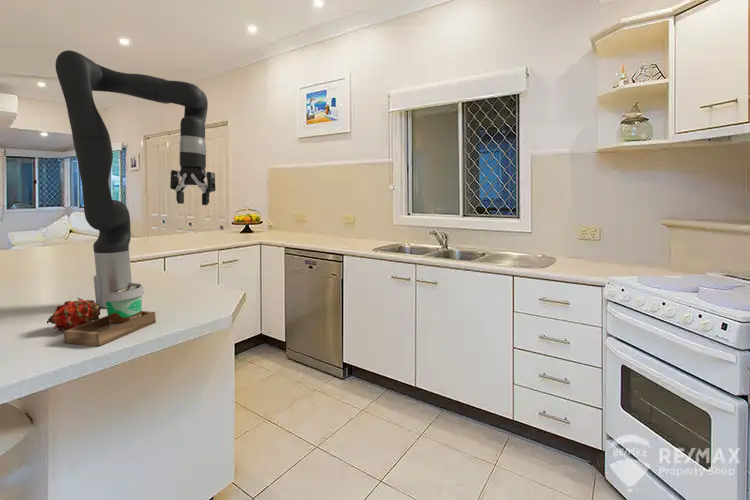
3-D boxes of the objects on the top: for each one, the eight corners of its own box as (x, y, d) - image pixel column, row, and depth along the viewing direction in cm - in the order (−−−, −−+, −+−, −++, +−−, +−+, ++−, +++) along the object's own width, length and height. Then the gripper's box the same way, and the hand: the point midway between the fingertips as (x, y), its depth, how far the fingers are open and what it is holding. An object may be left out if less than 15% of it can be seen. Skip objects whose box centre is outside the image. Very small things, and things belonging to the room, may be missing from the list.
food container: (133, 332, 99) (129, 293, 98) (106, 332, 98) (103, 293, 97) (154, 317, 111) (152, 282, 110) (131, 317, 111) (128, 282, 109)
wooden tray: (64, 343, 94) (63, 331, 93) (125, 320, 111) (124, 309, 110) (99, 346, 92) (98, 334, 91) (155, 322, 109) (155, 311, 109)
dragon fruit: (107, 328, 109) (54, 347, 100) (93, 306, 112) (41, 323, 103) (108, 308, 104) (53, 326, 95) (93, 286, 107) (38, 302, 98)
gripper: (164, 150, 121) (164, 203, 123) (206, 151, 119) (206, 205, 121) (180, 153, 129) (180, 203, 130) (220, 154, 126) (219, 205, 128)
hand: (192, 204), depth 126 cm, fingers open, 8 cm apart
